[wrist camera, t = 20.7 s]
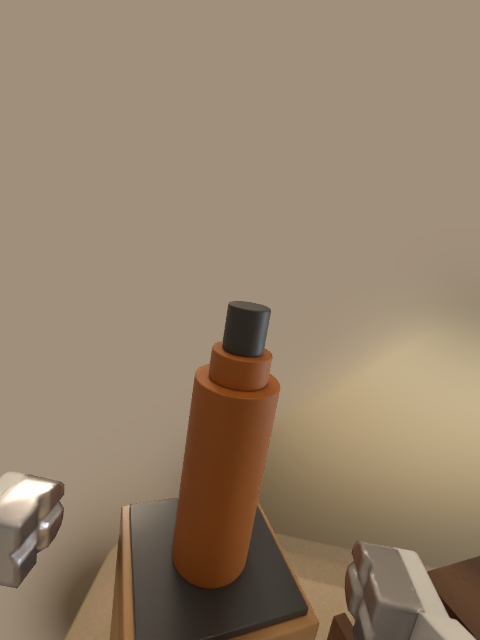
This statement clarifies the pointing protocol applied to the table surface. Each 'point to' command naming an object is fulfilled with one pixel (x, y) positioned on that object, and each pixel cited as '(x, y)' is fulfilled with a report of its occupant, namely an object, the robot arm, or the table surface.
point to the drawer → (341, 628)
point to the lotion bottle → (226, 451)
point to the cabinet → (460, 592)
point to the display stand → (201, 603)
